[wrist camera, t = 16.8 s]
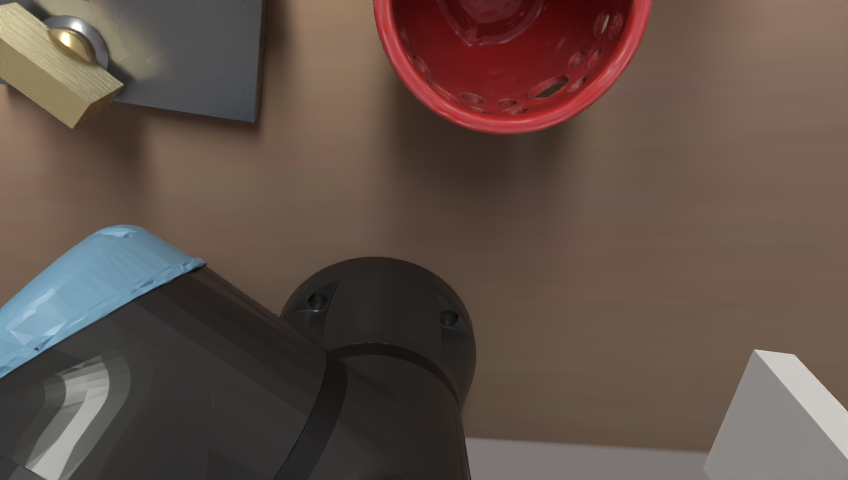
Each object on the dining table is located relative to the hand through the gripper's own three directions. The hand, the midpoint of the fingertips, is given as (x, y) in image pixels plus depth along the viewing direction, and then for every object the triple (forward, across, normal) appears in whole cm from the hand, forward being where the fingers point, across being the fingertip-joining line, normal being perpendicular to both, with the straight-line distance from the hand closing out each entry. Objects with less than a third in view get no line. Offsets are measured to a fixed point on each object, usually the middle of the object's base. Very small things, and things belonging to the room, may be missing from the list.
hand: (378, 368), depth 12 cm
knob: (+32, +19, +3) cm, 38 cm away
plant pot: (+35, -5, -5) cm, 36 cm away
